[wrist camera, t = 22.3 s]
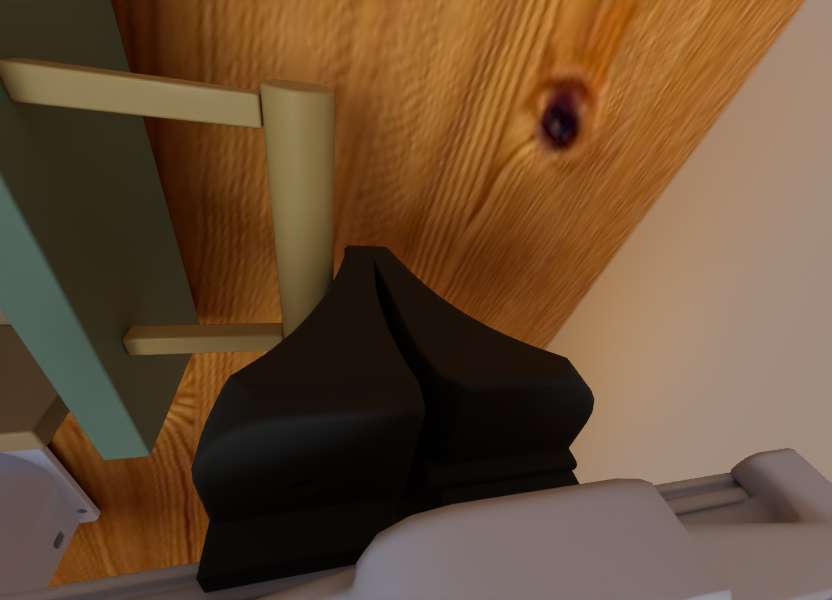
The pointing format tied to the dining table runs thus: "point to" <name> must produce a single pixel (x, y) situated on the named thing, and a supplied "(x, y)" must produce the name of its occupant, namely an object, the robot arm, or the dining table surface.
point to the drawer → (127, 227)
